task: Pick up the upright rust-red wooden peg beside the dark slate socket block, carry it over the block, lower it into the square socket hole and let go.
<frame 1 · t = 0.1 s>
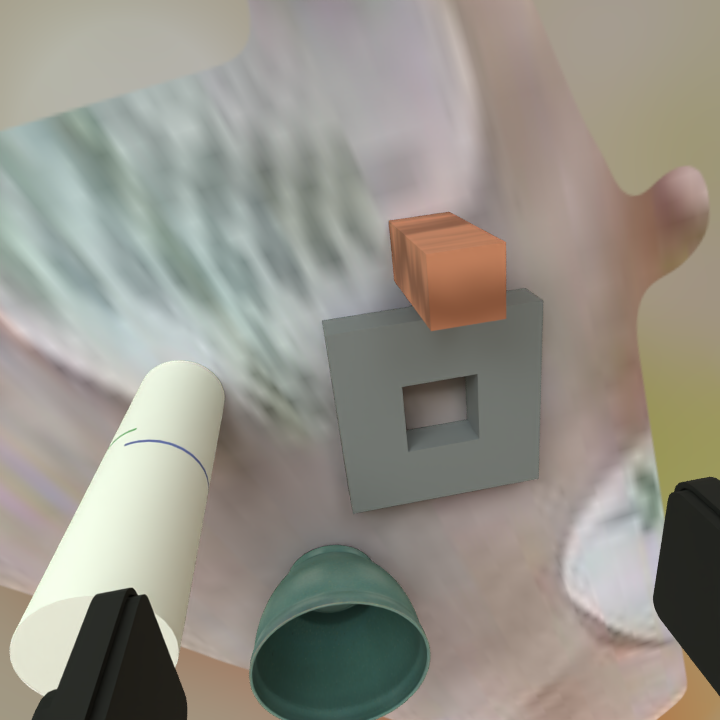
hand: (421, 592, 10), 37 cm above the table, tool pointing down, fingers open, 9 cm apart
cylindrical container: (183, 396, 47), on the table
socket block: (431, 395, 51), on the table
peg: (421, 246, 45), on the table
green bowl: (330, 575, 58), on the table
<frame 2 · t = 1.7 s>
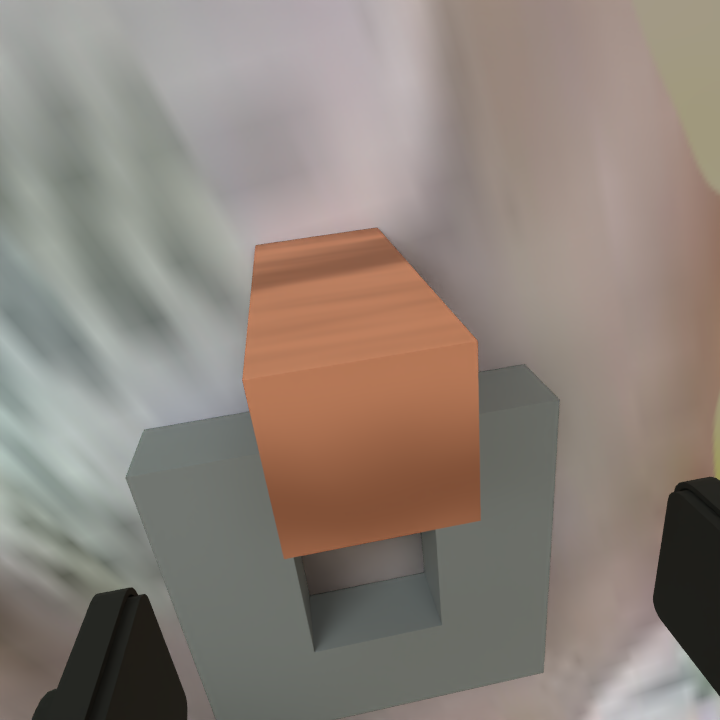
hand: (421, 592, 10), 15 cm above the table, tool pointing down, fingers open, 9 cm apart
socket block: (361, 540, 29), on the table
peg: (325, 294, 23), on the table
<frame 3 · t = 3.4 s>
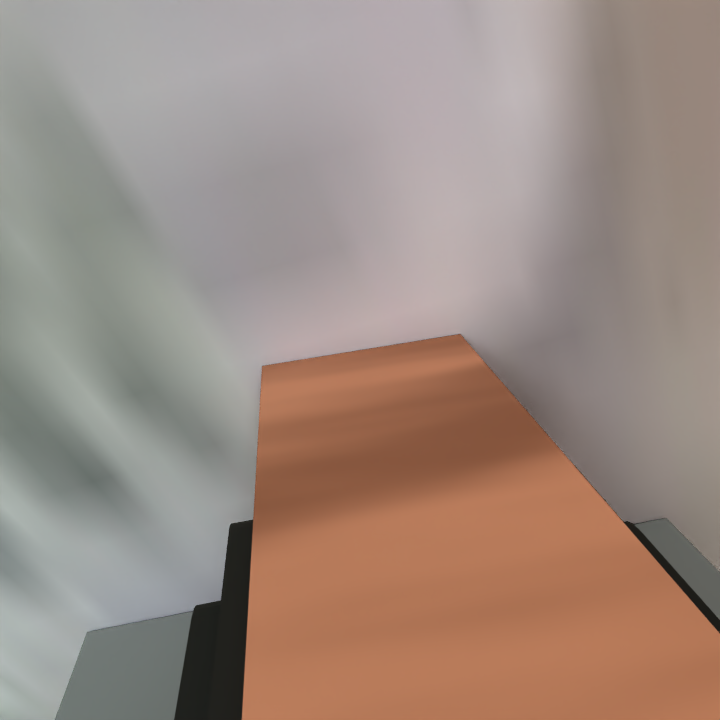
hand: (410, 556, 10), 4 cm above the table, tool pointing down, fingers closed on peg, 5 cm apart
peg: (373, 435, 15), on the table, touching gripper
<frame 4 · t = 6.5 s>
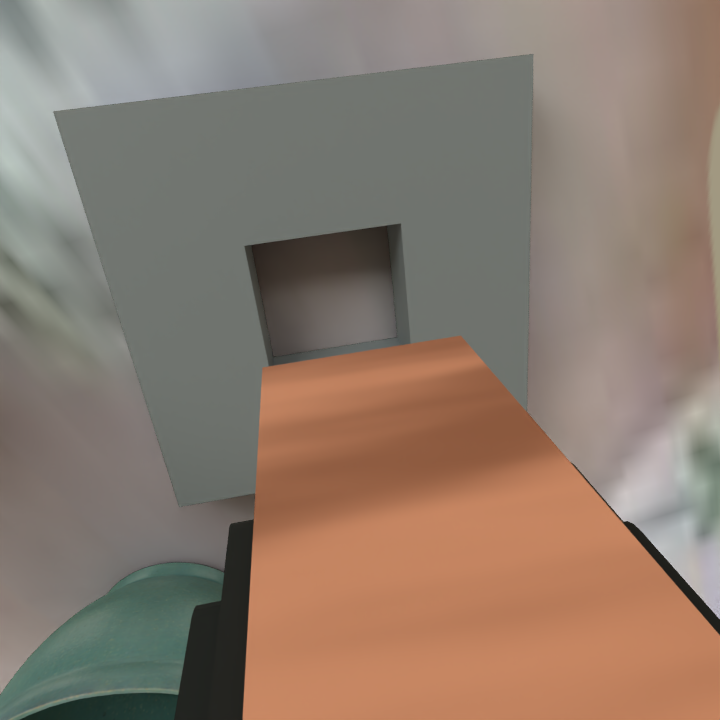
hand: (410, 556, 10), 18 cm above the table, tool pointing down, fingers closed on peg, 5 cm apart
socket block: (327, 286, 27), on the table
peg: (373, 436, 14), point 14 cm above the table, touching gripper
green bowl: (179, 613, 35), on the table
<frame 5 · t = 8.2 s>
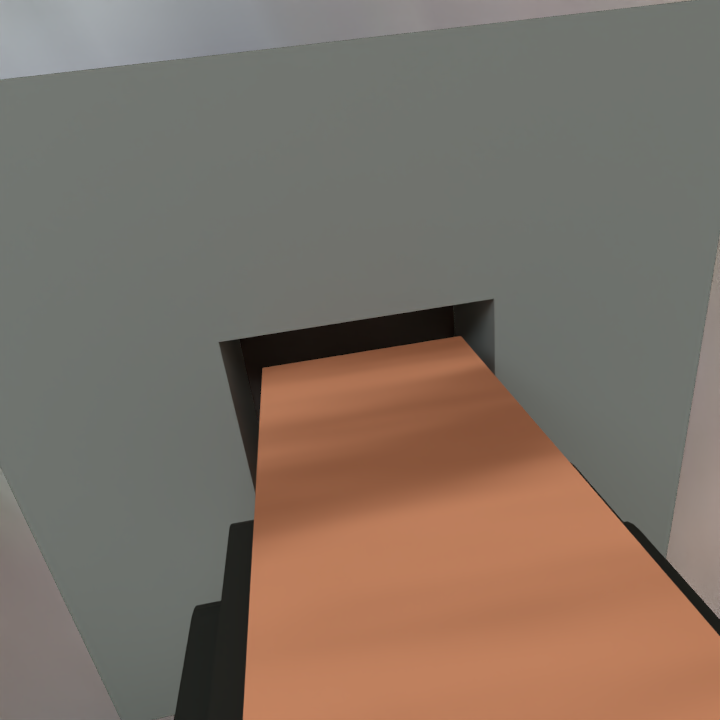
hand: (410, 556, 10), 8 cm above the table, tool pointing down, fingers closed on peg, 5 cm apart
socket block: (355, 379, 17), on the table
peg: (373, 436, 14), point 3 cm above the table, touching gripper
when the fingers open (6 cm above the table, at t = 9.6 s): peg drops 2 cm, resting in socket block.
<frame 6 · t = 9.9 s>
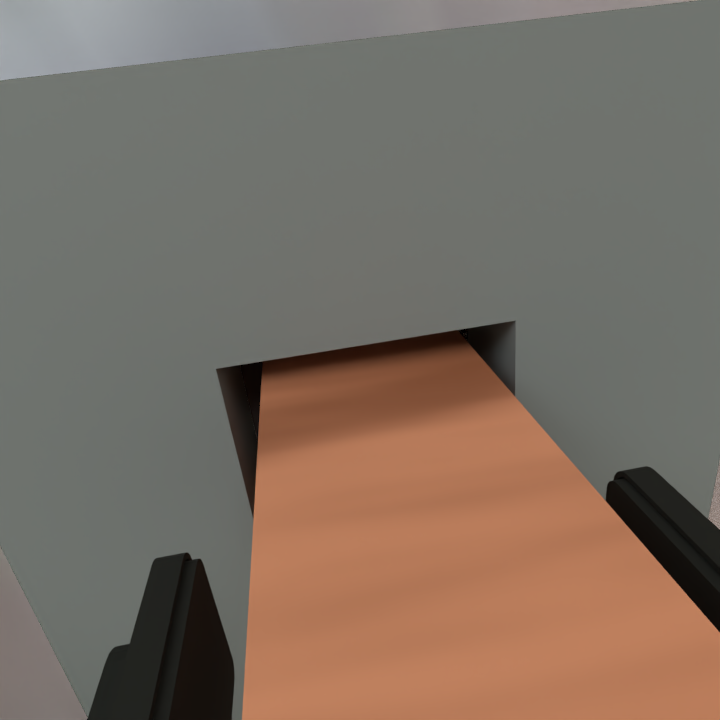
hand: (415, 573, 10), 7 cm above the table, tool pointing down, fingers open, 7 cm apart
socket block: (362, 401, 16), on the table
peg: (361, 399, 16), resting in socket block
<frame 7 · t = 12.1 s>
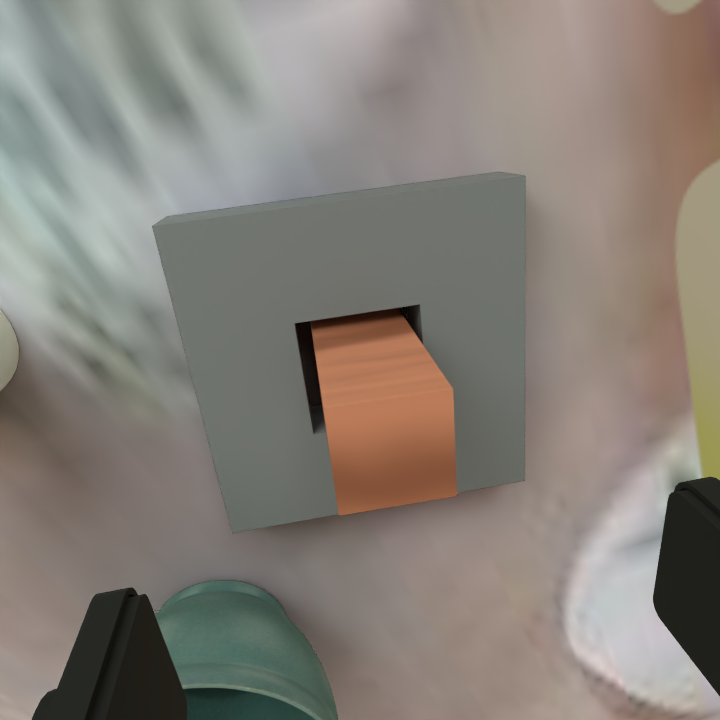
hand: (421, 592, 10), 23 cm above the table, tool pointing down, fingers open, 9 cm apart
socket block: (356, 348, 33), on the table
peg: (356, 347, 33), resting in socket block
green bowl: (221, 625, 40), on the table
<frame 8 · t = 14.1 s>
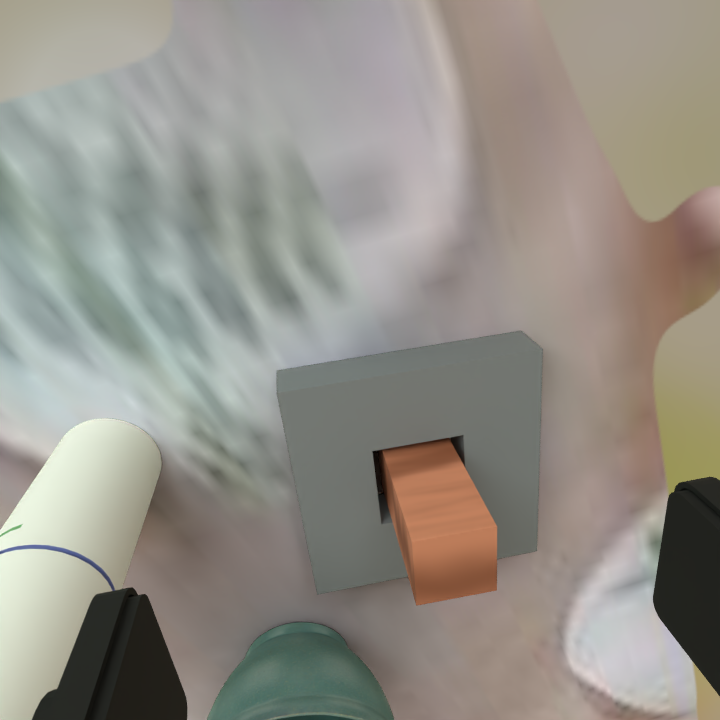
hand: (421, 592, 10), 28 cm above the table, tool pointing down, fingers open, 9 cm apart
cylindrical container: (110, 459, 40), on the table
socket block: (410, 454, 43), on the table
peg: (410, 453, 43), resting in socket block
green bowl: (296, 654, 50), on the table
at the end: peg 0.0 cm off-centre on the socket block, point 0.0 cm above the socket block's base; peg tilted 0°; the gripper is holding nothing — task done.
